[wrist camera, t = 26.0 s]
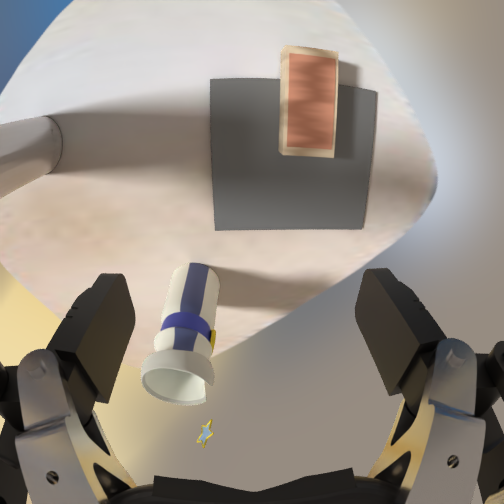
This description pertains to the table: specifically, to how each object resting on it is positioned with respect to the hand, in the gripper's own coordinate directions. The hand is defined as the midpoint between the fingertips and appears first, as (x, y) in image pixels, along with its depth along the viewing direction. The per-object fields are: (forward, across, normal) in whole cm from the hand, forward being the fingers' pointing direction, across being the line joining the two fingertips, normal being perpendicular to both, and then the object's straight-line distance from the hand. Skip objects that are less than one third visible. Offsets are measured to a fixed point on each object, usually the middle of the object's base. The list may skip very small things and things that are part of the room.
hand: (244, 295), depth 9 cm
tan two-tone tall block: (+26, -8, -1) cm, 27 cm away
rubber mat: (+28, -7, 0) cm, 29 cm away
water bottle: (+28, +7, +19) cm, 35 cm away
